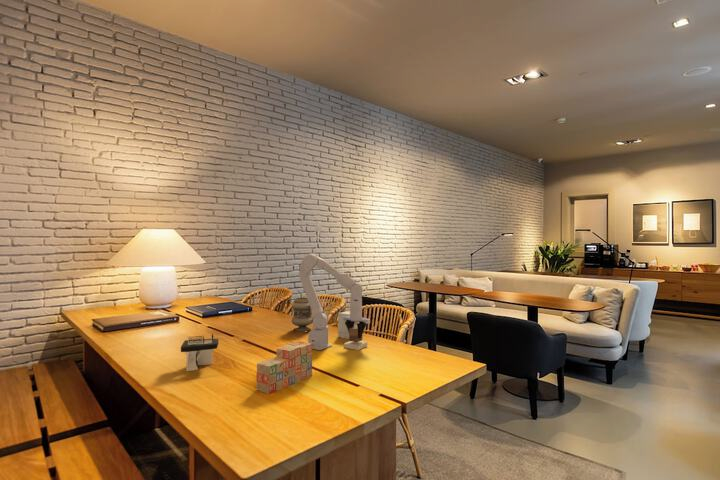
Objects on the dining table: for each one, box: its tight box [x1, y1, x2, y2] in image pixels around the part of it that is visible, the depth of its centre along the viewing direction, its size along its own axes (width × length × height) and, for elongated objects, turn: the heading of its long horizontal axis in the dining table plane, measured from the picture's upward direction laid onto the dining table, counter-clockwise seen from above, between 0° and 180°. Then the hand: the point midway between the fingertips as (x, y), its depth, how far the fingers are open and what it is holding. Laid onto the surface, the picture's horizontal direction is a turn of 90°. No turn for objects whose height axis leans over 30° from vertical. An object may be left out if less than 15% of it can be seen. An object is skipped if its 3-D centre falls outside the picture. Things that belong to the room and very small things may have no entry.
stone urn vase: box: [291, 296, 313, 333], centre depth 220 cm, size 12×12×18 cm
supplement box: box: [337, 310, 358, 340], centre depth 206 cm, size 7×7×13 cm
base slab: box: [343, 340, 368, 351], centre depth 187 cm, size 8×8×2 cm
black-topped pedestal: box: [180, 333, 219, 372], centre depth 156 cm, size 28×26×13 cm
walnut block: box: [348, 326, 363, 342], centre depth 187 cm, size 4×4×6 cm
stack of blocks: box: [256, 341, 313, 395], centre depth 140 cm, size 21×6×12 cm, turn 146°
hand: (355, 337), depth 187 cm, fingers closed on walnut block, 4 cm apart
